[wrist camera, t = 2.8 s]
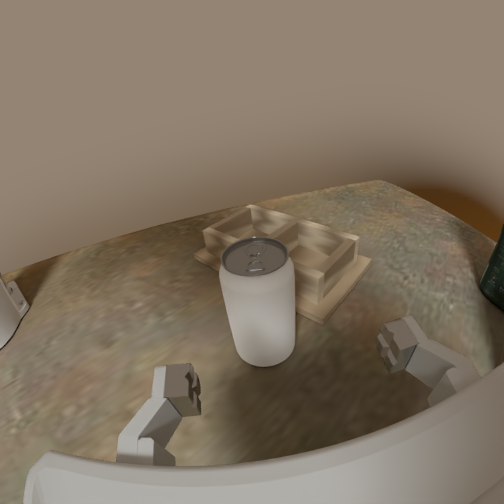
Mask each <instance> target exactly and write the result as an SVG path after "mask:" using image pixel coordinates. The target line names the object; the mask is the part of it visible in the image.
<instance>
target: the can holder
mask: <svg viewBox="0 0 504 504" xmlns="http://www.w3.org/2000/svg"><path fill="white" fill-rule="evenodd" d="M202 231H203V235H204V240H205V244H206V246H204V247H203V248H201V249H199V250H198V251H196V252H195V253H193V255H194V259H196V260H198V261H200V262H202V263H204V264H205V265H207V266H209V267H211V268H213V269H215V270H216V271H218V272H219V271H220V267H221V255H222V253H223V251H224V250H225V249H226V248H227V247H228V246H229V245H231V244H232V243H234V242H236V241H238V240H241V239H245V238H249V237H270V238H274V239H277V240H279V241H281V242H282V243H284V244H285V245H286V246H287V248H288V250H289V257H290V258H291V260H292V262H293V265H294V272H295V312H297V313H299V314H301V315H303V316H305V317H307V318H309V319H311V320H313V321H315V322H317V323H319V324H321V325H323V324H324V323H325V322H326V321H327V319H328V318H329V317H330V316H331V315H332V313H333V312H334V311H335V310H336V309H337V307H338V306H339V305H340V304H341V303H342V301H343V300H344V299H345V298H346V296H347V295H348V294H349V293H350V291H351V290H352V289H353V288H354V286H355V285H356V284H357V282H358V281H359V280H360V279H361V277H362V276H363V275H364V273H365V272H366V271H367V269H368V268H369V267H370V265H371V261H372V259H369V258H367V257H364V256H361V255H358V254H357V253H358V244H359V237H358V236H355V235H352V234H349V233H346V232H343V231H339V230H336V229H333V228H330V227H327V226H323V225H320V224H317V223H313V222H310V221H307V220H303V219H300V218H297V217H293V216H290V215H286V214H283V213H279V212H276V211H272V210H269V209H265V208H262V207H258V206H254V205H251V204H250V205H248V206H246V207H245V208H243V209H241V210H239V211H237V212H235V213H233V214H232V215H230V216H228V217H226V218H224V219H222V220H220V221H219V222H217V223H215V224H213V225H211V226H210V227H208V228H206V229H204V230H202Z"/></svg>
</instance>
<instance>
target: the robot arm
mask: <svg viewBox="0 0 504 504" xmlns="http://www.w3.org/2000/svg"><path fill="white" fill-rule="evenodd" d="M28 309H29V304H28V303H27V301H26V299H25V298H24V296H23V294H22V293H21V291H20V289H19V287H18V285H17V284H16V282H15V281H12V282H9V283H7V284H6V282H5V280H4V279H3V277H2V275H1V273H0V348H2V347H3V346H4V345H5V344H6V342H7V341H8V340H9V339H10V338H11V336H12V335H13V333H14V332H15V330H16V328H17V326H18V324H19V322H20V320H21V318H22V317H23V316H24V314H25V313H26V312H27V310H28ZM379 330H380V332H381V333H380V334H379V335H378V336H377V340H376V347H377V350H378V353H379V355H380V356H381V357H383V358H385V360H384V364H385V366H386V368H387V370H388V372H389V374H392V373H395V372H398V371H401V370H403V369H405V370H406V371H408V372H409V373H410V374H412V375H413V376H414V377H416V378H417V379H419V380H420V381H421V382H423V383H424V384H426V385H427V386H428V387H430V388H431V389H433V391H432V392H431V394H430V395H429V396H428V398H427V401H428V403H429V405H430V408H428V409H426V410H424V411H422V412H420V413H418V414H415V415H413V416H411V417H409V418H407V419H404V420H402V421H400V422H397V423H395V424H393V425H390V426H388V427H385V428H383V429H380V430H377V431H375V432H372V433H369V434H366V435H363V436H360V437H358V438H354V439H351V440H348V441H345V442H342V443H338V444H335V445H331V446H328V447H324V448H320V449H316V450H312V451H308V452H304V453H299V454H294V455H289V456H284V457H279V458H273V459H267V460H260V461H253V462H245V463H236V464H225V465H209V466H175V457H174V456H173V455H172V454H171V453H169V452H168V451H167V450H165V449H164V448H165V447H166V445H167V443H168V442H169V440H170V438H171V437H172V435H173V433H174V432H175V430H176V428H177V427H178V425H179V423H180V421H181V420H182V417H187V416H198V415H201V401H200V400H199V398H198V396H199V395H200V393H201V387H200V381H199V378H198V375H197V373H195V372H194V367H193V365H192V364H191V363H186V364H173V365H158V366H156V367H155V370H154V378H153V387H152V397H151V399H148V400H147V401H146V402H145V403H144V405H143V406H142V407H141V408H140V410H139V411H138V412H137V413H136V415H135V416H134V417H133V418H132V420H131V421H130V422H129V423H128V425H127V426H126V427H125V428H124V430H123V431H122V432H121V433H120V435H119V438H118V447H117V457H116V462H111V461H104V460H98V459H92V458H86V457H81V456H76V455H72V454H67V453H63V452H59V451H55V450H50V451H48V452H46V453H45V454H44V455H43V456H42V457H41V458H40V459H38V461H37V462H36V463H35V464H34V465H33V466H32V467H31V468H30V470H29V473H28V476H27V480H26V485H25V491H24V499H23V504H504V362H503V363H502V364H500V365H499V366H498V367H496V368H495V369H493V370H492V371H490V372H489V373H488V374H486V375H485V376H483V377H482V378H481V377H480V375H479V374H478V372H477V371H476V369H475V368H474V366H473V364H472V363H471V361H470V360H469V358H467V357H465V356H463V355H461V354H459V353H457V352H455V351H453V350H452V349H450V348H448V347H446V346H444V345H442V344H440V343H438V342H436V341H434V340H432V339H430V340H428V338H427V337H426V335H425V334H424V332H423V331H422V329H421V328H420V326H419V325H418V323H417V322H416V321H415V319H414V318H413V317H412V316H411V315H409V316H406V317H403V318H399V319H396V320H393V321H390V322H387V323H384V324H382V325H381V326H380V329H379Z"/></svg>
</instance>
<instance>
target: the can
mask: <svg viewBox="0 0 504 504" xmlns="http://www.w3.org/2000/svg"><path fill="white" fill-rule="evenodd" d="M219 278H220V284H221V289H222V293H223V297H224V302H225V306H226V310H227V315H228V319H229V323H230V327H231V331H232V335H233V339H234V343H235V346H236V350H237V352H238V354H239V356H240V357H241V358H242V359H243V360H244V361H245V362H247V363H249V364H251V365H254V366H260V367H267V366H273V365H276V364H279V363H281V362H283V361H284V360H286V359H287V358H288V357H289V356H290V355H291V353H292V351H293V349H294V346H295V272H294V265H293V262H292V260H291V258H290V257H289V250H288V248H287V246H286V245H285V244H284V243H282V242H281V241H279V240H277V239H274V238H270V237H249V238H245V239H241V240H238V241H236V242H234V243H232V244H231V245H229V246H228V247H227V248H226V249H225V250H224V251H223V253H222V255H221V267H220V271H219Z"/></svg>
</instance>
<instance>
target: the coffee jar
mask: <svg viewBox="0 0 504 504" xmlns="http://www.w3.org/2000/svg"><path fill="white" fill-rule="evenodd" d="M480 287H481V290H482V292H483V293H484V294H485V295H486V296H487V297H488V298H489V299H490V300H491V301H492V302H493V303H495V304H496V305H497V306H499V307H500V308H501V309H502V310H504V224H503V228H502V231H501V234H500V237H499V239H498V242H497V244H496V247H495V249H494V251H493V254H492V256H491V258H490V260H489V262H488V264H487V266H486V269H485V271H484V273H483V275H482V278H481V280H480Z"/></svg>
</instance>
